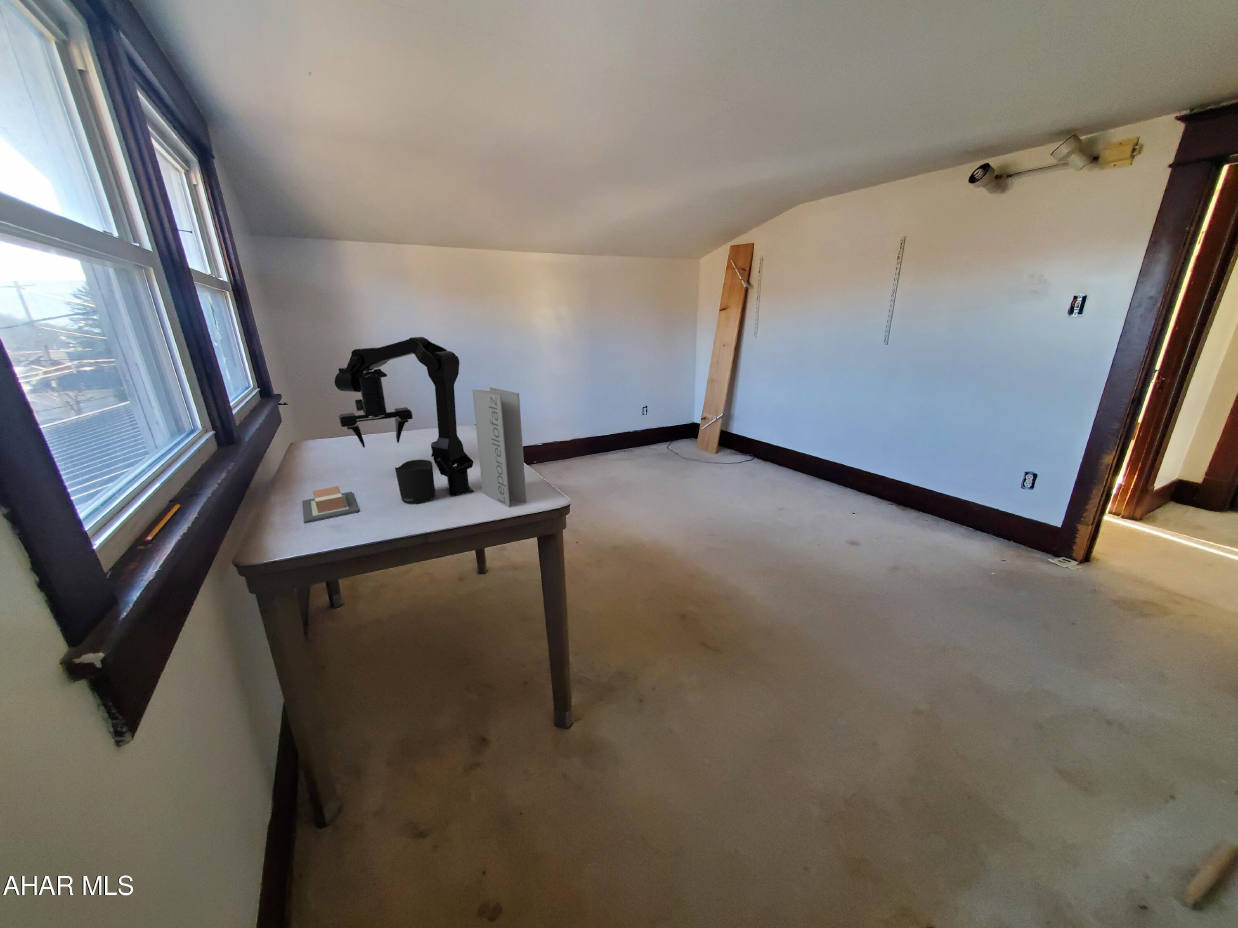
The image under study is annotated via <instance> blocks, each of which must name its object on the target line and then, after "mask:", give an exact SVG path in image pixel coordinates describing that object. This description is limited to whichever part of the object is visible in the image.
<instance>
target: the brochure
mask: <svg viewBox="0 0 1238 928" xmlns="http://www.w3.org/2000/svg"><path fill="white" fill-rule="evenodd" d="M471 390H472V401H473V402H472V403H473V410H474V420H475V430H476V431H475V432H476V439H477V449H478V450H477V451H478V459H479V460H478V462H479V469H480V479H481V488H482V491H481V492H482V494H483V495H485V496H487V497H489V498H490V499H492V500H494V501H496V502H498V503H500V504H501V505H504V506H505V507H507V508H510V507H511V504H510V500H513V501H517V502H518V501H519V502H522V503H527V491H526V490H527V489H526V487H527V486H526V476H525V473H526V472H525V460H524V447H523V432H522V430H523V429H522V419H521V416H522V415H521V404H520V403H521V401H520V393H519V392H514V391H510V390H504V389H501V388H495V387H491V386H490V387H489V390H487V389H486V390H484V389H471Z"/></svg>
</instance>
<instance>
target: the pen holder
mask: <svg viewBox="0 0 1238 928" xmlns="http://www.w3.org/2000/svg"><path fill="white" fill-rule="evenodd" d="M433 468H434V467H433V462H432V461H431V460H429V459H411V460H408V461H406V462H404V463H402V464H401V465H400V466H398V467H394V469H395V475H396V480H397V485H398V488H399V493H400V499H401V502H403V503H405V504H407V505H408V504H409V505H419V504H424V503H427V502H430V501H432V500H433V499H434V498H435V496H436V494H435V493H436V492H435V491H436V489H435V476H434V469H433Z"/></svg>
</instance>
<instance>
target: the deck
mask: <svg viewBox="0 0 1238 928" xmlns="http://www.w3.org/2000/svg"><path fill="white" fill-rule="evenodd" d="M341 493H342V492H341V489H340V487H339V485H338V486H337V485H336V486H331V487H326V488H321V489H316V490H312V494H313V499H315V503H316V507H317V511H318V513H323V512H328V511H332V510H337V509H342V508H345V506H344V501H343V497H342V494H341Z"/></svg>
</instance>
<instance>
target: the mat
mask: <svg viewBox="0 0 1238 928" xmlns="http://www.w3.org/2000/svg"><path fill="white" fill-rule="evenodd" d="M341 494H342V497H343V501H344V506H345V508H342V509H337V510H332V511H328V512H323V513H318V511H317V507H316V503H315V499H314V498H309V499H303V500H301V501H302V516H303V517H302V518H303V523H304V524H308V523H314V522H317V521H322V520H323V521H324V520H329V519H333V518H337V517H342V516H347V515H351V514H356V513H360V511H359V507H358V505H357V502H356V499H355V497H354V496H355V495H354V493H353V492H352V491H347V492H341Z"/></svg>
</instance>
